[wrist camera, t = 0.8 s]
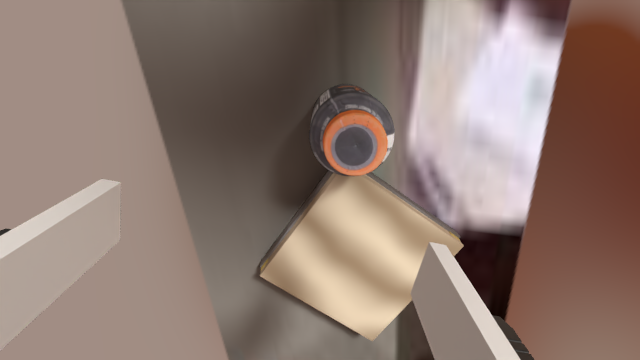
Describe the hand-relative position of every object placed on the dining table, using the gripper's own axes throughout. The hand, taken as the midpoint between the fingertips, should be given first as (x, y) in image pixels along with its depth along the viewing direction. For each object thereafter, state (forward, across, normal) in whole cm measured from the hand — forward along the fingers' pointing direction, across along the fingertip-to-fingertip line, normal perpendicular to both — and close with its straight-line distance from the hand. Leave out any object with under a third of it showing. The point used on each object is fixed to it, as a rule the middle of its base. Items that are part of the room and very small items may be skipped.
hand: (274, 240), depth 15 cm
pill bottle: (+19, +4, +3) cm, 20 cm away
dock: (+19, +8, -10) cm, 23 cm away
